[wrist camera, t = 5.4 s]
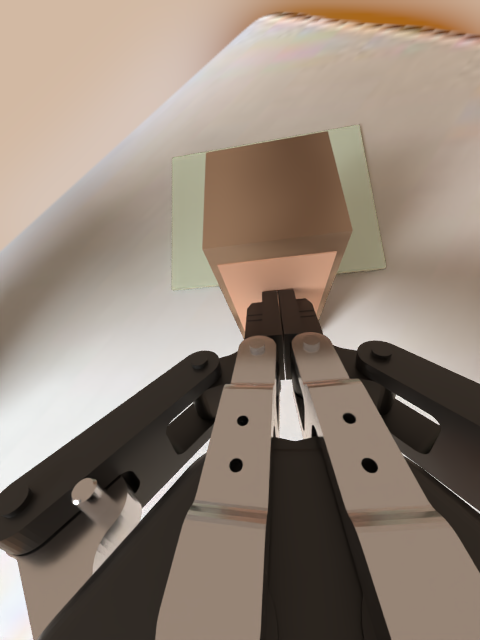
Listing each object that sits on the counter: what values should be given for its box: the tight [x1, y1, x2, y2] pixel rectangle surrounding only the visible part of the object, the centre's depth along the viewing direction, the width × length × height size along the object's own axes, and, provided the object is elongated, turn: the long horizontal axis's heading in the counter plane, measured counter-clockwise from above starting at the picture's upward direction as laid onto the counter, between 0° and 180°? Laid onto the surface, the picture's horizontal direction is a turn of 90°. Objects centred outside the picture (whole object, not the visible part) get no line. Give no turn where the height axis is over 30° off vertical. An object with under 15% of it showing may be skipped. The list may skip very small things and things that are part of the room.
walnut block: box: [202, 131, 353, 338], centre depth 15 cm, size 5×5×12 cm
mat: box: [171, 125, 386, 291], centre depth 22 cm, size 18×14×1 cm
